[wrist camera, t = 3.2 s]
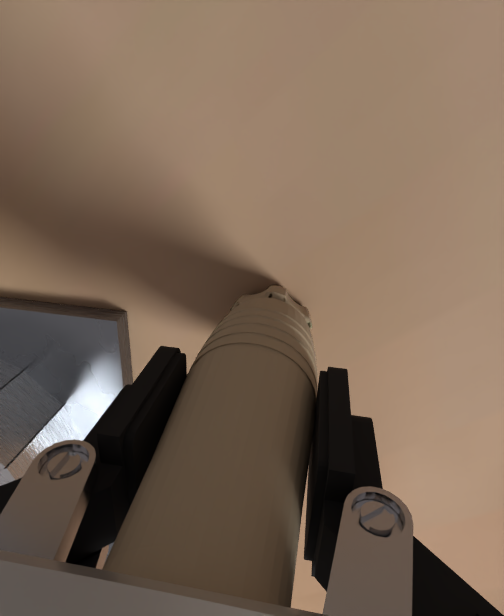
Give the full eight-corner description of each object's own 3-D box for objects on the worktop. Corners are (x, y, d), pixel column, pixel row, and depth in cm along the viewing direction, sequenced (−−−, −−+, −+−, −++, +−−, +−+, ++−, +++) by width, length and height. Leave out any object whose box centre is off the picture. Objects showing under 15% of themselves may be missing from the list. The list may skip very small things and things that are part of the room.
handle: (333, 381, 18) (349, 1103, 5) (193, 349, 19) (-143, 923, 5) (363, 281, 16) (534, 1052, 3) (205, 248, 17) (-292, 769, 3)
